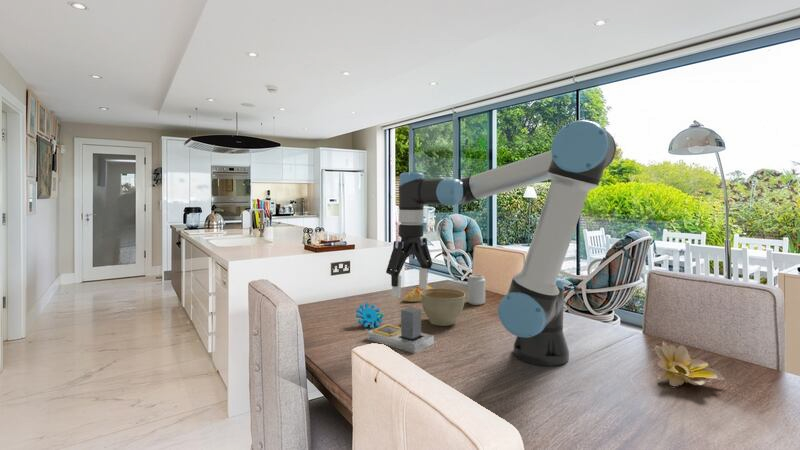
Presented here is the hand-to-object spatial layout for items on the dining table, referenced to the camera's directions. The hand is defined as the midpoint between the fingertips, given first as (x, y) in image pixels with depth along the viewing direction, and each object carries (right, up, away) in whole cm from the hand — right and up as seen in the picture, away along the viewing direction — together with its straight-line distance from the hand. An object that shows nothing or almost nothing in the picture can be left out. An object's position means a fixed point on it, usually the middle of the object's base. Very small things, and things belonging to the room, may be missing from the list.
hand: (410, 292), depth 126 cm
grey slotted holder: (-3, -16, +4) cm, 17 cm away
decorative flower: (+66, -18, -26) cm, 73 cm away
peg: (0, -16, +1) cm, 16 cm away
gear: (-14, -15, +20) cm, 28 cm away
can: (+29, -13, +49) cm, 59 cm away
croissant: (+6, -13, +57) cm, 59 cm away
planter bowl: (+12, -15, +23) cm, 30 cm away
